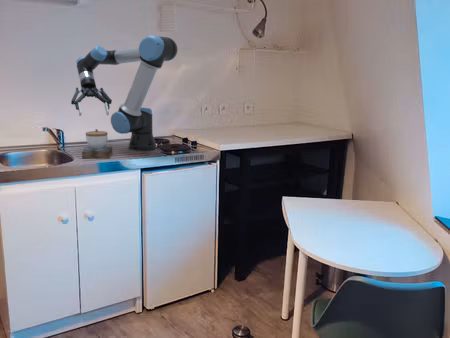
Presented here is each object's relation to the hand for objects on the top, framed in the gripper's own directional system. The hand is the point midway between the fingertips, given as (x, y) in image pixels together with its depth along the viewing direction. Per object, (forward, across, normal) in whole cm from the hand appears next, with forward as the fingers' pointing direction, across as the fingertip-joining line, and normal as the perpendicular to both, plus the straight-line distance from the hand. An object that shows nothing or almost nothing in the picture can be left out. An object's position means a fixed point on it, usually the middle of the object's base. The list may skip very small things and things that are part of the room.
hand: (94, 114), depth 212 cm
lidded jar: (+15, 0, -9) cm, 17 cm away
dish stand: (+18, 0, -12) cm, 21 cm away
